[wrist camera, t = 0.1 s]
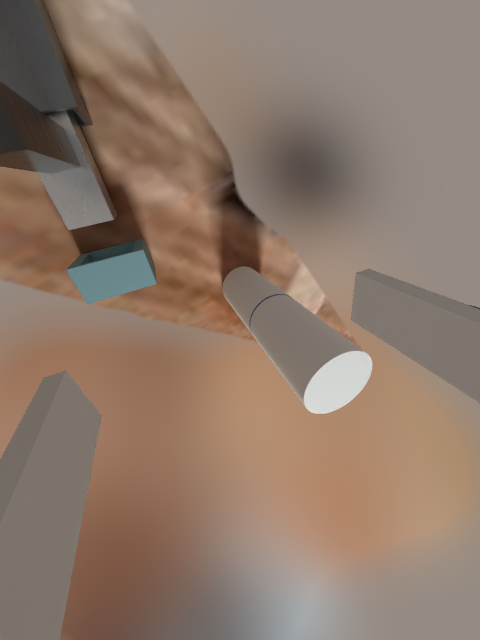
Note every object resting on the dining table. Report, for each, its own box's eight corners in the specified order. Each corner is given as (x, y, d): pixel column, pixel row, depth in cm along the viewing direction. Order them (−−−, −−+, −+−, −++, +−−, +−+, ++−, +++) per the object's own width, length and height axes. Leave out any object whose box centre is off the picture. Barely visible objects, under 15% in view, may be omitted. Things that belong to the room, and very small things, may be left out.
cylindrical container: (250, 258, 39) (367, 335, 19) (266, 291, 43) (376, 383, 23) (214, 281, 39) (293, 385, 18) (234, 312, 43) (315, 424, 23)
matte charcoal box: (-62, -20, 19) (-152, -111, 13) (33, -23, 20) (-11, -107, 14) (21, 135, 24) (-17, 119, 18) (92, 124, 26) (77, 106, 20)
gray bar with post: (-45, -12, 19) (-645, -646, 4) (20, -14, 20) (-310, -548, 5) (78, 224, 28) (13, 261, 14) (117, 215, 29) (92, 241, 15)
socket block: (80, 254, 31) (66, 269, 25) (143, 238, 32) (143, 249, 27) (97, 284, 33) (87, 304, 27) (154, 268, 35) (156, 283, 29)
